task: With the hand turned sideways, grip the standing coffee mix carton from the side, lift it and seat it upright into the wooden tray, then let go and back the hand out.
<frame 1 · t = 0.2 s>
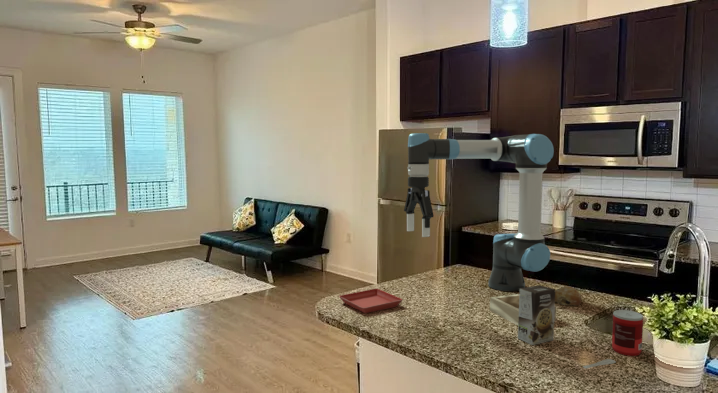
hand: (417, 233, 181), 28 cm above the counter, tool pointing down, fingers open, 13 cm apart
wooden tray: (521, 315, 174), on the counter
canned food: (626, 351, 143), on the counter
plant saucer: (370, 306, 188), on the counter
coffee box: (535, 340, 152), on the counter
butter knife: (582, 370, 132), on the counter
bread roll: (566, 302, 191), on the counter
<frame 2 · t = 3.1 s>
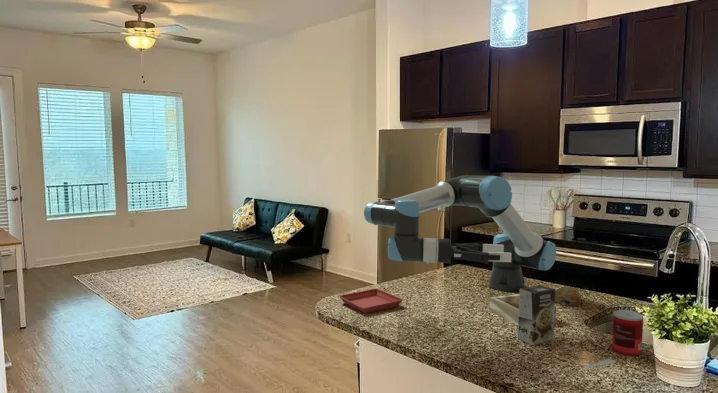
hand: (507, 253, 151), 27 cm above the counter, tool horizontal, fingers open, 13 cm apart
nothing on the counter moved.
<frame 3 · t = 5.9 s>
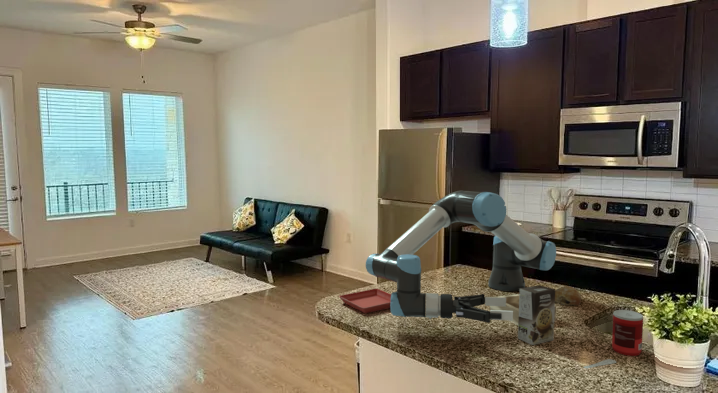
hand: (509, 308, 152), 9 cm above the counter, tool horizontal, fingers open, 13 cm apart
nothing on the counter moved.
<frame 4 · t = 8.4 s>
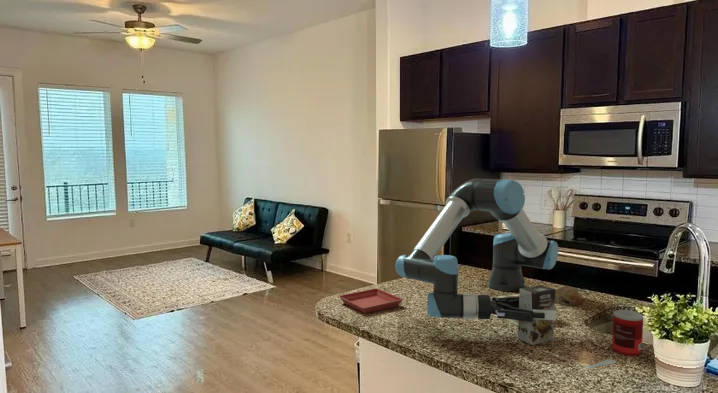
hand: (551, 309, 151), 10 cm above the counter, tool horizontal, fingers closed on coffee box, 10 cm apart
coffee box: (535, 340, 152), on the counter, touching gripper
everything else where it was.
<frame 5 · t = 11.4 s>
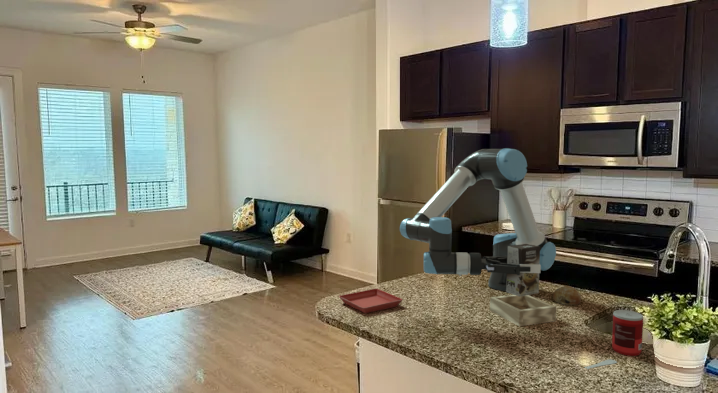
hand: (536, 265, 165), 20 cm above the counter, tool horizontal, fingers closed on coffee box, 10 cm apart
coffee box: (522, 293, 167), point 10 cm above the counter, touching gripper
everything else where it was.
when the fingers open (12 cm above the counter, at t = 14.5 s): coffee box drops 1 cm, resting on wooden tray.
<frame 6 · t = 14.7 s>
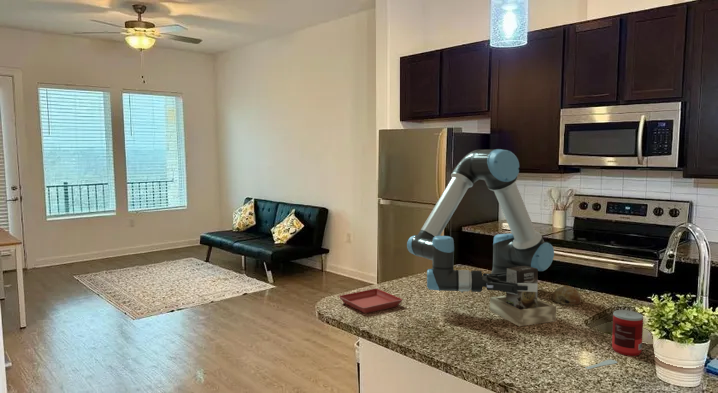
hand: (533, 282, 173), 12 cm above the counter, tool horizontal, fingers open, 12 cm apart
coffee box: (521, 313, 174), point 1 cm above the counter, touching wooden tray
everything else where it was.
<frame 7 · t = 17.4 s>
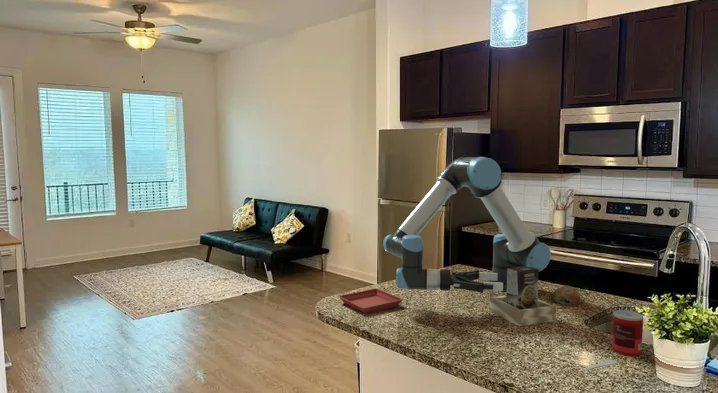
hand: (500, 281, 174), 12 cm above the counter, tool horizontal, fingers open, 13 cm apart
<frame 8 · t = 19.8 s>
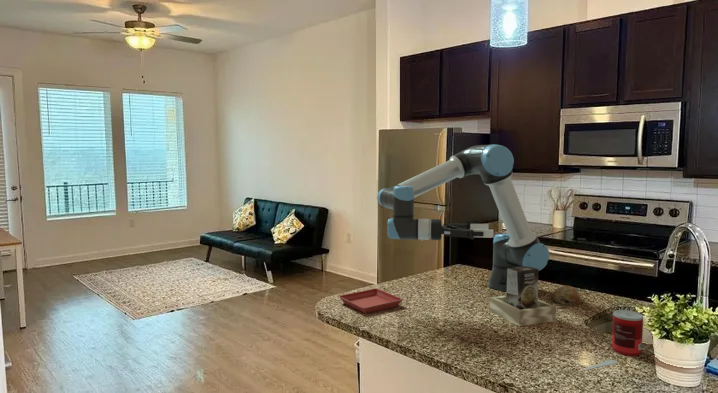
hand: (490, 230, 175), 30 cm above the counter, tool horizontal, fingers open, 13 cm apart
at the end: coffee box inside the target area on the wooden tray (0.2 cm from its centre), point 0.8 cm above the wooden tray's base; coffee box tilted 0°; the gripper is holding nothing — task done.
